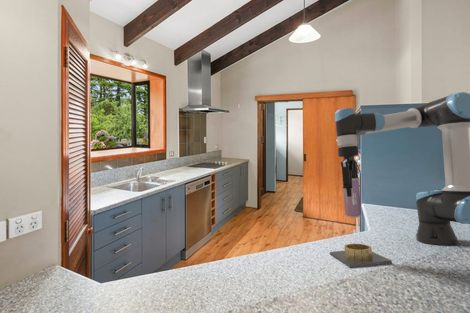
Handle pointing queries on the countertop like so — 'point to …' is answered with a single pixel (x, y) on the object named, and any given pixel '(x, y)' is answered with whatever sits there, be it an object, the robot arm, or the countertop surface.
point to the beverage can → (348, 203)
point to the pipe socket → (359, 256)
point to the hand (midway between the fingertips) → (353, 204)
